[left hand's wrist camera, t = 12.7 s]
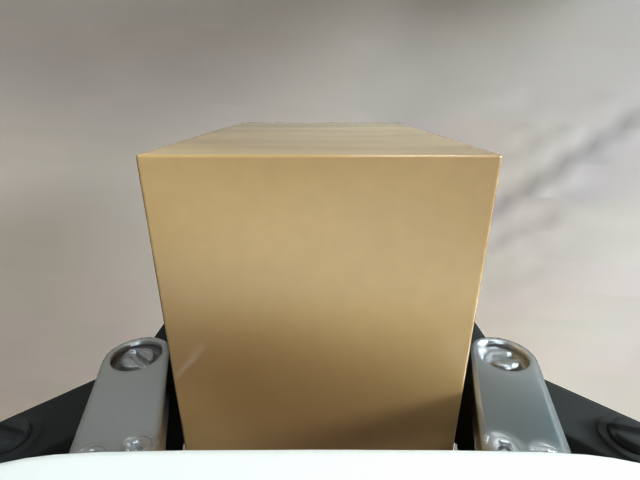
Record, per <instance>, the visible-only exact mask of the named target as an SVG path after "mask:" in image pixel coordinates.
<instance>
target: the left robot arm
mask: <svg viewBox="0 0 640 480" xmlns="http://www.w3.org/2000/svg"><path fill="white" fill-rule="evenodd" d="M454 443H455V447H454V450H186V449H185V443H184V437H183V431H182V425H181V419H180V413H179V407H178V401H177V395H176V390H175V384H174V378H173V372H172V366H171V360H170V354H169V348H168V342H167V336H166V331H165V325H163V326H162V327H161V329H160V330H159V332H158V333H157V335H156V336H155V337H154V338H153V337H147V338H139V339H134V340H131V341H128V342H126V343H123V344H121V345H119V346H117V347H116V348H114V349H113V350H111V351H110V352H109V353H108V354H107V355H106V357H105V358H104V360H103V362H102V364H101V367H100V370H99V373H98V375H97V378H96V380H93V381H91V382H89V383H87V384H84V385H82V386H80V387H78V388H75V389H73V390H71V391H69V392H66V393H64V394H62V395H60V396H57V397H55V398H53V399H51V400H49V401H46V402H44V403H42V404H40V405H37V406H35V407H33V408H31V409H28V410H26V411H24V412H22V413H19V414H17V415H15V416H13V417H10V418H8V419H6V420H4V421H2V422H0V480H640V422H638V421H636V420H634V419H632V418H629V417H627V416H625V415H623V414H620V413H618V412H616V411H614V410H611V409H609V408H607V407H605V406H603V405H600V404H598V403H596V402H594V401H591V400H589V399H587V398H585V397H582V396H580V395H578V394H576V393H573V392H571V391H569V390H567V389H564V388H562V387H560V386H558V385H555V384H553V383H551V382H549V381H546V380H544V378H543V375H542V373H541V370H540V367H539V364H538V362H537V360H536V358H535V357H534V355H533V354H532V353H531V352H530V351H529V350H527V349H526V348H524V347H523V346H521V345H519V344H517V343H514V342H512V341H509V340H506V339H501V338H493V337H487V338H485V336H484V335H483V333H482V332H481V331H480V329H479V328H478V326H477V325H476V323H475V322H474V327H473V332H472V338H471V344H470V350H469V356H468V362H467V368H466V374H465V380H464V386H463V392H462V398H461V404H460V410H459V416H458V422H457V428H456V434H455V440H454Z"/></svg>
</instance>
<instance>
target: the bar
mask: <svg viewBox="0 0 640 480" xmlns="http://www.w3.org/2000/svg"><path fill="white" fill-rule="evenodd" d="M136 160H137V166H138V171H139V177H140V183H141V189H142V195H143V201H144V207H145V213H146V219H147V224H148V230H149V236H150V242H151V248H152V254H153V260H154V266H155V272H156V278H157V283H158V289H159V295H160V301H161V307H162V313H163V319H164V325H165V331H166V336H167V342H168V348H169V354H170V360H171V366H172V372H173V378H174V384H175V390H176V395H177V401H178V407H179V413H180V419H181V425H182V431H183V437H184V443H185V449H186V450H453V446H454V440H455V434H456V428H457V422H458V416H459V410H460V404H461V398H462V392H463V386H464V380H465V374H466V368H467V362H468V356H469V350H470V344H471V338H472V332H473V327H474V321H475V315H476V309H477V303H478V297H479V291H480V285H481V279H482V273H483V267H484V261H485V255H486V249H487V243H488V237H489V231H490V225H491V219H492V213H493V207H494V201H495V196H496V190H497V184H498V178H499V172H500V166H501V160H502V157H501V155H499V154H496V153H493V152H490V151H487V150H484V149H480V148H477V147H474V146H471V145H468V144H465V143H461V142H458V141H455V140H452V139H449V138H445V137H442V136H439V135H436V134H433V133H429V132H426V131H423V130H420V129H417V128H414V127H410V126H407V125H404V124H401V123H240V124H237V125H233V126H230V127H227V128H224V129H220V130H217V131H214V132H210V133H207V134H204V135H200V136H197V137H194V138H190V139H187V140H184V141H181V142H177V143H174V144H171V145H167V146H164V147H161V148H157V149H154V150H151V151H147V152H144V153H141V154H138V155H137V156H136Z"/></svg>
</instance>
